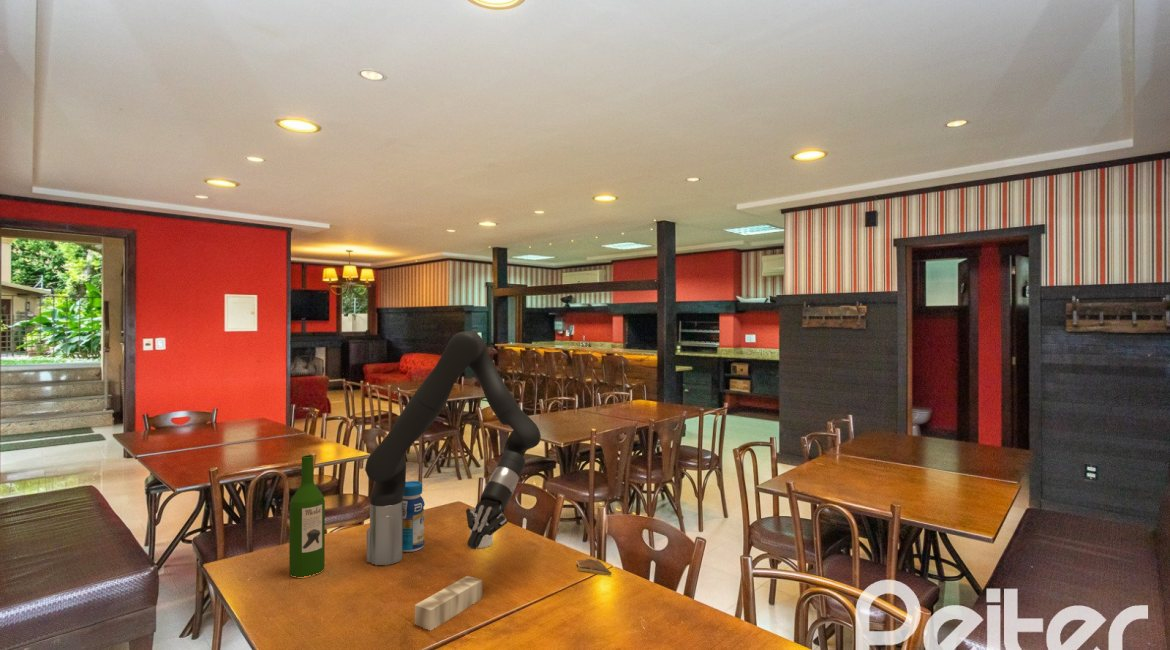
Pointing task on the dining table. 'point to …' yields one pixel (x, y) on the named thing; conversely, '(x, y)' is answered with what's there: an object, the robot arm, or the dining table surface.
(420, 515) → the beverage bottle
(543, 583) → the dining table surface
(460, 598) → the birch block
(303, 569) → the wine bottle
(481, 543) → the white cup
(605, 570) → the shard
